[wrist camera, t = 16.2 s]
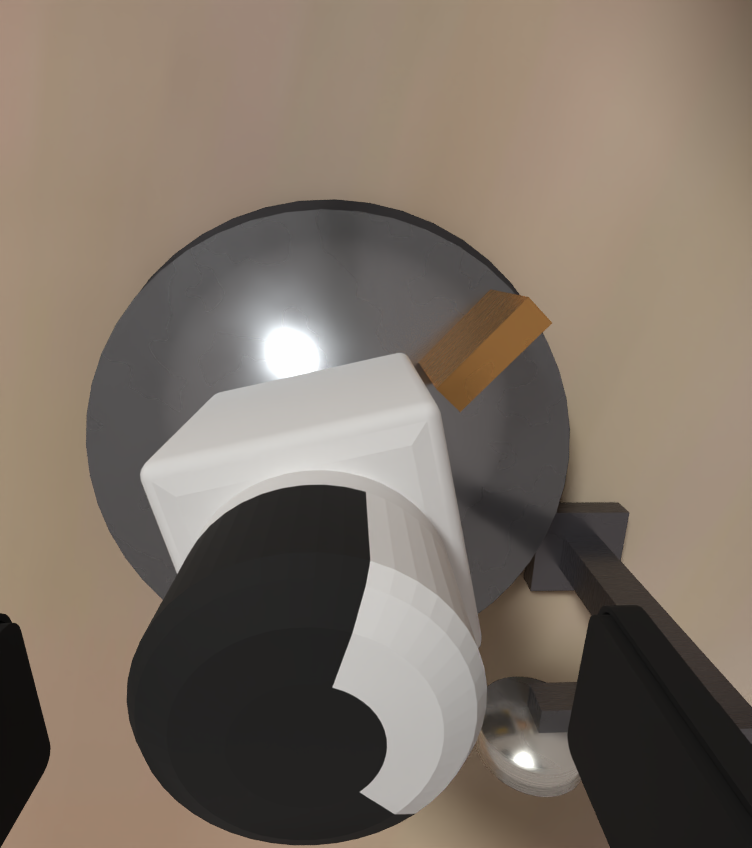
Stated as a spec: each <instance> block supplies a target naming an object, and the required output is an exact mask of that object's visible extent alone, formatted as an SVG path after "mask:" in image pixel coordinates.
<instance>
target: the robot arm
mask: <svg viewBox="0 0 752 848" xmlns="http://www.w3.org/2000/svg"><path fill="white" fill-rule="evenodd" d="M567 737H568V746H569V750H570V754H571V757H572V759H573V761H574V764H575V766H576V769H577V771H578V773H579V776H580V778H581V780H582V783H583V785H584V787H585V790H586V792H587V794H588V797H589V799H590V801H591V804H592V806H593V808H594V811H595V813H596V815H597V818H598V820H599V822H600V825H601V827H602V829H603V832H604V834H605V837H606V839H607V841H608V844H609V846H610V848H752V744H751V743H750V742H749V740H748V739H747V738H746V737H745V735H744V734H743V733H742V732H741V730H740V729H739V728H738V726H737V725H736V724H735V723H734V721H733V720H732V719H731V718H730V716H729V715H728V714H727V713H726V711H725V710H724V709H723V708H722V706H721V705H720V704H719V703H718V702H717V701H716V700H715V699H714V697H713V696H712V695H711V693H710V692H709V691H708V690H707V688H706V687H705V686H704V685H703V683H702V682H701V681H700V680H699V678H698V677H697V676H696V675H695V673H694V672H693V671H692V669H691V668H690V667H689V666H688V664H687V663H686V662H685V661H684V659H683V658H682V657H681V656H680V654H679V653H678V652H677V651H676V649H675V648H674V647H673V646H672V644H671V643H670V642H669V640H668V639H667V638H666V637H665V635H664V634H663V633H662V632H661V630H660V629H659V628H658V627H657V625H656V624H655V623H654V622H653V620H652V619H651V618H650V616H649V615H648V614H647V613H646V611H645V610H644V609H643V608H642V607H640V606H638V605H606V606H602V607H601V609H600V610H599V613H598V615H592V616H591V617H590V620H589V624H588V629H587V634H586V639H585V644H584V650H583V655H582V660H581V665H580V670H579V675H578V680H577V685H576V691H575V696H574V701H573V706H572V711H571V716H570V721H569V726H568V733H567ZM49 756H50V742H49V738H48V734H47V730H46V726H45V722H44V718H43V714H42V710H41V707H40V703H39V699H38V695H37V691H36V687H35V683H34V679H33V675H32V672H31V668H30V664H29V660H28V656H27V652H26V648H25V644H24V640H23V637H22V633H21V629H20V627H19V625H17V624H16V623H12V622H11V620H10V618H9V617H8V616H7V615H6V614H1V613H0V848H1V846H2V844H3V842H4V841H5V839H6V837H7V835H8V834H9V832H10V830H11V829H12V827H13V825H14V823H15V822H16V820H17V818H18V816H19V815H20V813H21V811H22V809H23V808H24V806H25V804H26V802H27V801H28V799H29V797H30V796H31V794H32V792H33V790H34V789H35V787H36V785H37V783H38V782H39V780H40V778H41V776H42V775H43V773H44V771H45V769H46V767H47V764H48V761H49Z"/></svg>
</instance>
